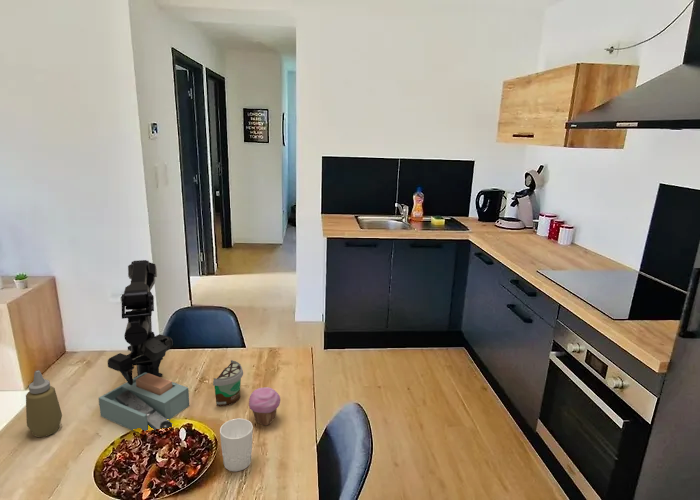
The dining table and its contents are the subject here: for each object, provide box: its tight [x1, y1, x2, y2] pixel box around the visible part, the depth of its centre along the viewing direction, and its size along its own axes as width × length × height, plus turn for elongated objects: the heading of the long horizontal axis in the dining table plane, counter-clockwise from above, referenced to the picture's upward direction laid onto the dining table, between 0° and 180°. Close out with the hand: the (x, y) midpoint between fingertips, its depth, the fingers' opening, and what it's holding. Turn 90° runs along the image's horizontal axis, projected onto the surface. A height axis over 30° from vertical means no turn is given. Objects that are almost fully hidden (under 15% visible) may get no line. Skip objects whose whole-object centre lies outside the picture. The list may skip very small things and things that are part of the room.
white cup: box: [219, 418, 254, 472], centre depth 113 cm, size 8×8×10 cm
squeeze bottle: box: [25, 369, 63, 438], centre depth 121 cm, size 8×8×18 cm
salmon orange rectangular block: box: [136, 373, 173, 396], centre depth 135 cm, size 10×4×3 cm, turn 64°
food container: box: [212, 359, 244, 407], centre depth 139 cm, size 12×6×10 cm, turn 168°
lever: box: [115, 390, 173, 431], centre depth 127 cm, size 19×4×2 cm, turn 65°
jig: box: [98, 372, 190, 431], centre depth 132 cm, size 18×16×6 cm
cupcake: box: [248, 386, 281, 427], centre depth 130 cm, size 9×9×10 cm
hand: (144, 377), depth 137 cm, fingers open, 9 cm apart
